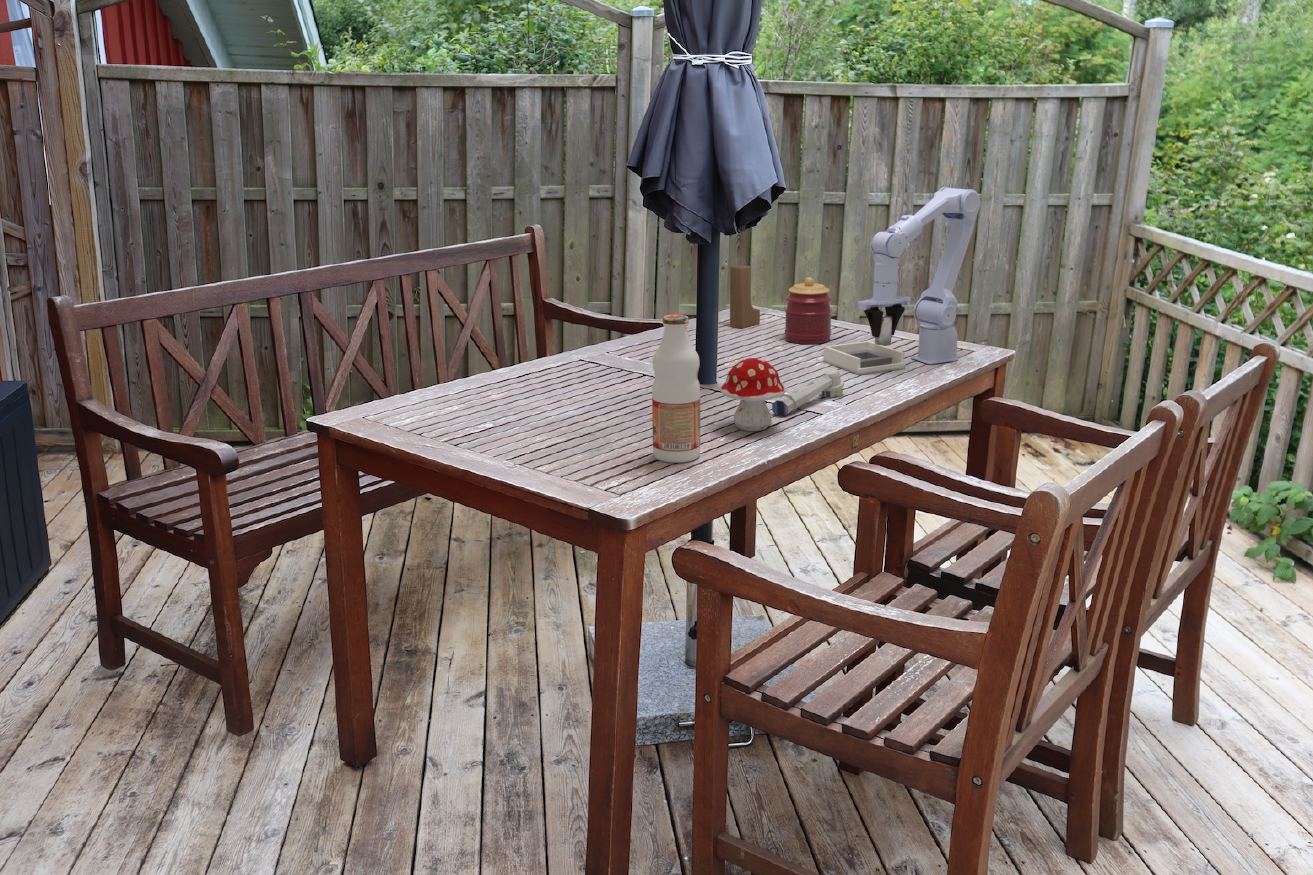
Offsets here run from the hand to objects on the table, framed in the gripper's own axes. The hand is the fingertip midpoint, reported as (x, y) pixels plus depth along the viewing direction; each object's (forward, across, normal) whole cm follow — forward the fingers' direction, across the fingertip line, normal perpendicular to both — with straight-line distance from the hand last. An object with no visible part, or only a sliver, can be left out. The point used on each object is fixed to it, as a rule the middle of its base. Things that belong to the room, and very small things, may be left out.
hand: (883, 335), depth 293 cm
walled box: (+9, +1, -6) cm, 11 cm away
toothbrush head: (+9, +33, +17) cm, 38 cm away
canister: (+9, -3, -38) cm, 40 cm away
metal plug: (+2, 0, 0) cm, 2 cm away
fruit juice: (+9, +77, +36) cm, 86 cm away
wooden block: (+9, +2, -64) cm, 64 cm away
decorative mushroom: (+9, +54, +27) cm, 61 cm away
